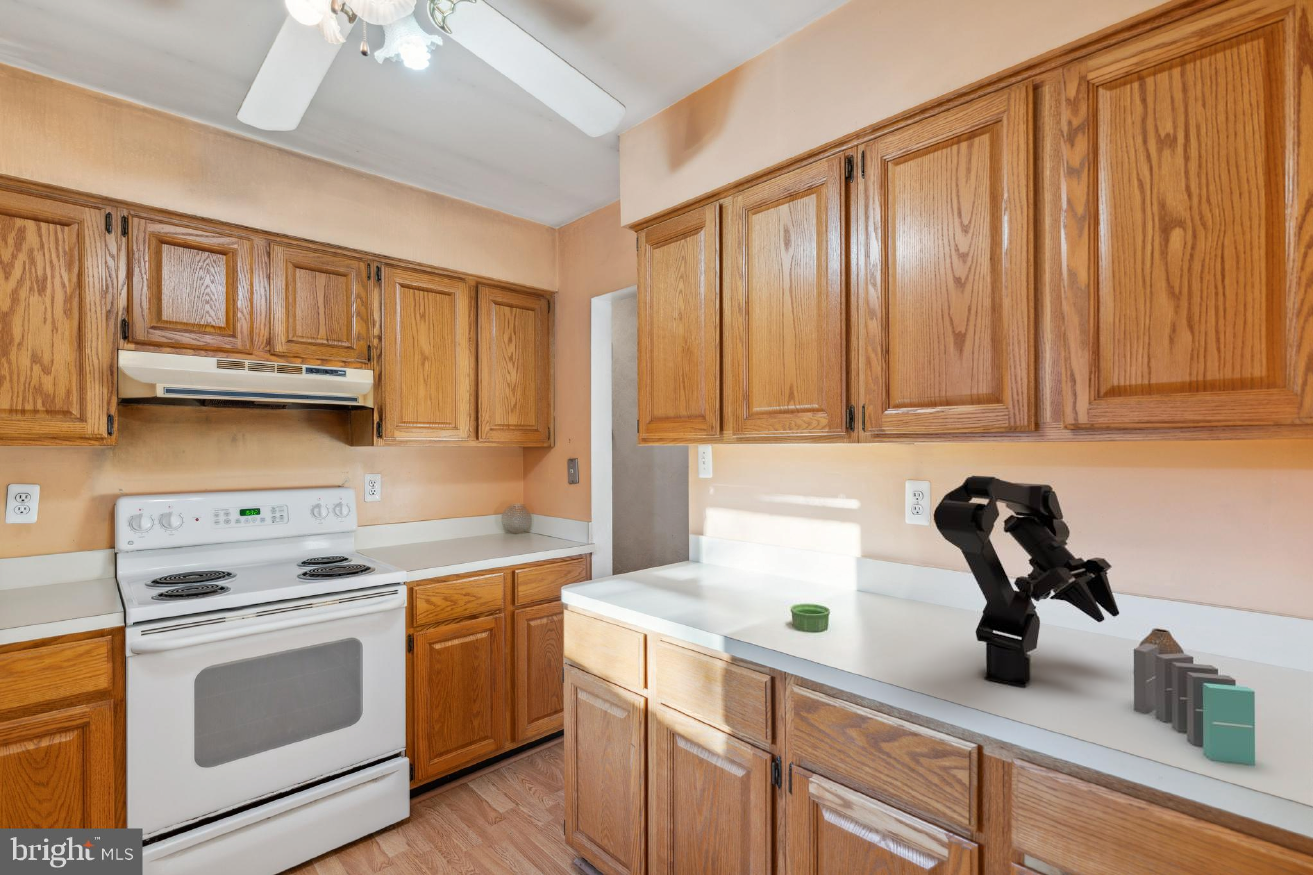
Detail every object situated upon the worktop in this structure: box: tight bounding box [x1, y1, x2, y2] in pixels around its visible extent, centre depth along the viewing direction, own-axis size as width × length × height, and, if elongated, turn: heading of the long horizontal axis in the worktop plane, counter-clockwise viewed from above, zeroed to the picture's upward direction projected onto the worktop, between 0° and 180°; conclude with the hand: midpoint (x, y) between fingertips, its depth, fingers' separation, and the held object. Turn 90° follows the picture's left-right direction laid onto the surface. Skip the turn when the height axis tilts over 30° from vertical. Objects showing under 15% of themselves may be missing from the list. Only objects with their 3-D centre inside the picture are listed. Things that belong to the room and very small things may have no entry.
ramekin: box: [790, 603, 831, 633], centre depth 142 cm, size 9×9×4 cm
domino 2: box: [1154, 652, 1194, 724], centre depth 95 cm, size 2×5×10 cm, turn 97°
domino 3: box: [1171, 662, 1219, 734], centre depth 91 cm, size 2×5×10 cm, turn 74°
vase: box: [1138, 627, 1185, 655], centre depth 111 cm, size 7×7×9 cm
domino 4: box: [1186, 672, 1237, 748], centre depth 87 cm, size 2×5×10 cm, turn 74°
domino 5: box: [1202, 683, 1256, 766], centre depth 83 cm, size 2×5×10 cm, turn 74°
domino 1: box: [1133, 643, 1159, 715], centre depth 99 cm, size 2×5×10 cm, turn 122°
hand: (1109, 618), depth 106 cm, fingers open, 5 cm apart
